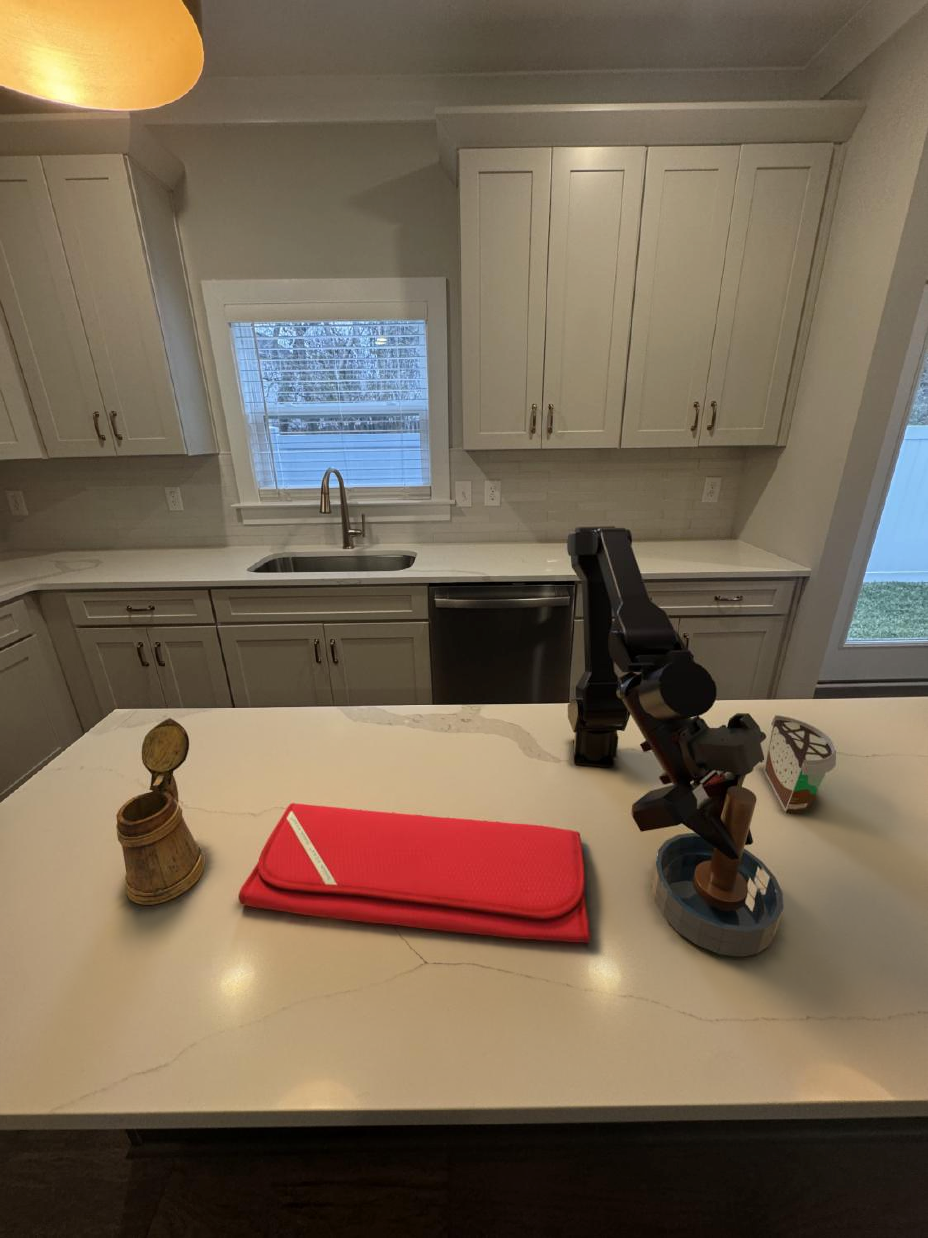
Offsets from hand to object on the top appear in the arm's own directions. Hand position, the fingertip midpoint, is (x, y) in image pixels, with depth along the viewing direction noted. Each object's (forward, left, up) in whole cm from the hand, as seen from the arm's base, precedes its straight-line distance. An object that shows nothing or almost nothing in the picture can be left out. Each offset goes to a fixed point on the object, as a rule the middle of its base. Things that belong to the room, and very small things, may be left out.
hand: (742, 851), depth 55 cm
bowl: (-2, +1, -10) cm, 10 cm away
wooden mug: (-70, -3, -10) cm, 70 cm away
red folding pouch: (-37, 0, -10) cm, 38 cm away
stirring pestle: (-1, +1, -7) cm, 7 cm away
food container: (+16, +23, -10) cm, 30 cm away
